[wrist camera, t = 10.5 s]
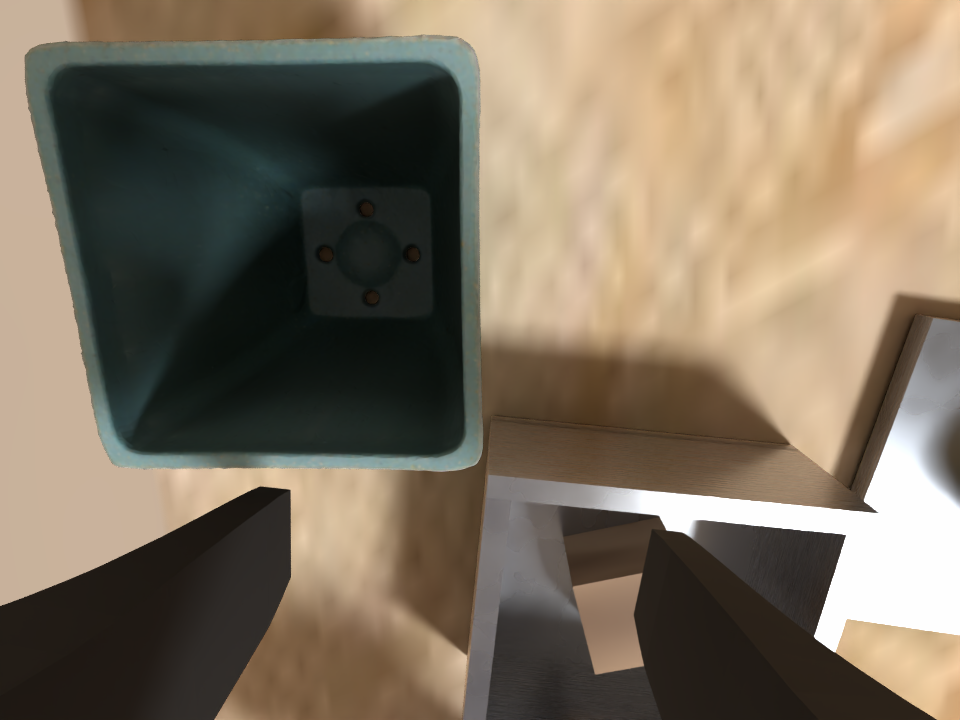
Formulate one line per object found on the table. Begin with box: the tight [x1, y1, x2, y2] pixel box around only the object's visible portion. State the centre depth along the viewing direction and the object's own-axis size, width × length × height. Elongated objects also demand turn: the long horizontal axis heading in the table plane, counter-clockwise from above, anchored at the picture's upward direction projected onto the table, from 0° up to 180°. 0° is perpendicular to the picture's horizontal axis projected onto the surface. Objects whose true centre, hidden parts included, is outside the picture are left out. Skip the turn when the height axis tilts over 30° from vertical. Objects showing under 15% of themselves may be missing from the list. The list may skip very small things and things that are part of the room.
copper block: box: [563, 517, 666, 675], centre depth 20 cm, size 4×4×3 cm
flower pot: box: [25, 35, 483, 472], centre depth 15 cm, size 9×9×9 cm
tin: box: [462, 416, 881, 720], centre depth 20 cm, size 12×12×5 cm
